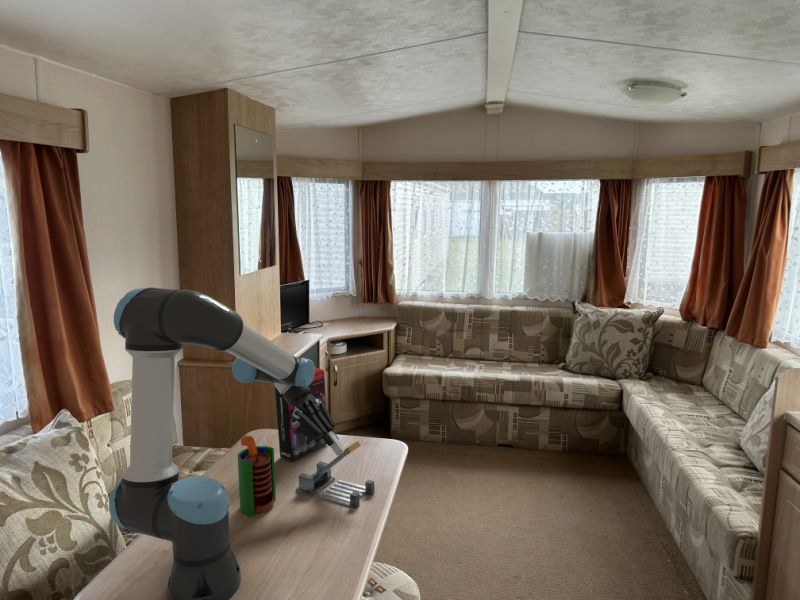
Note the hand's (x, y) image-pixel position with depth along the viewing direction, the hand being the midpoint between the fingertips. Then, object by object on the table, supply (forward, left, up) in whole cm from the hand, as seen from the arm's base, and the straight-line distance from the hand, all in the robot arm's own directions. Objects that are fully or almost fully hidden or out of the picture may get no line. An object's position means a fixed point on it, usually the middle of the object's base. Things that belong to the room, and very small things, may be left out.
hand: (341, 452), depth 159 cm
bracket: (0, +2, -12) cm, 13 cm away
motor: (-17, +17, -13) cm, 27 cm away
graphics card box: (+17, +28, -13) cm, 35 cm away
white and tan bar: (0, +11, -11) cm, 15 cm away
